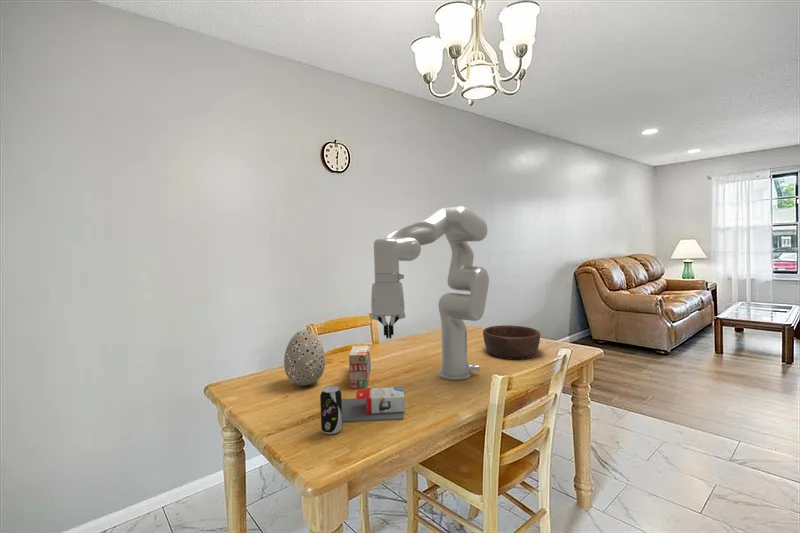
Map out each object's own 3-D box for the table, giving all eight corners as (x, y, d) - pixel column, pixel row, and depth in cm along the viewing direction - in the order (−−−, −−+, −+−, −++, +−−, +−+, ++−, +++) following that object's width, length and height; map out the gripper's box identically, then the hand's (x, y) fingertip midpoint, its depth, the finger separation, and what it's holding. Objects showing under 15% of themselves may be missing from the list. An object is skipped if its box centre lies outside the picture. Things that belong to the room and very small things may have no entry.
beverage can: (345, 432, 108) (344, 389, 107) (326, 438, 105) (324, 394, 104) (337, 424, 113) (336, 383, 112) (318, 429, 110) (316, 387, 109)
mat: (400, 397, 131) (400, 396, 131) (403, 419, 115) (403, 418, 115) (339, 400, 130) (339, 399, 130) (334, 422, 114) (334, 421, 114)
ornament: (300, 375, 155) (298, 325, 153) (333, 379, 149) (331, 327, 148) (276, 389, 141) (274, 333, 140) (311, 394, 136) (309, 336, 134)
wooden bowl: (473, 349, 188) (473, 327, 187) (518, 343, 195) (518, 323, 195) (502, 364, 164) (502, 340, 163) (552, 358, 171) (552, 334, 171)
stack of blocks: (355, 369, 162) (354, 339, 161) (370, 368, 162) (370, 339, 161) (349, 388, 140) (348, 354, 140) (367, 388, 140) (366, 354, 140)
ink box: (402, 401, 127) (356, 403, 126) (402, 386, 127) (356, 388, 126) (405, 412, 119) (356, 415, 118) (405, 396, 118) (355, 398, 117)
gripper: (410, 276, 126) (411, 333, 127) (363, 278, 125) (365, 335, 126) (412, 279, 118) (413, 339, 119) (362, 280, 117) (364, 341, 119)
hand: (388, 337), depth 123 cm, fingers closed
